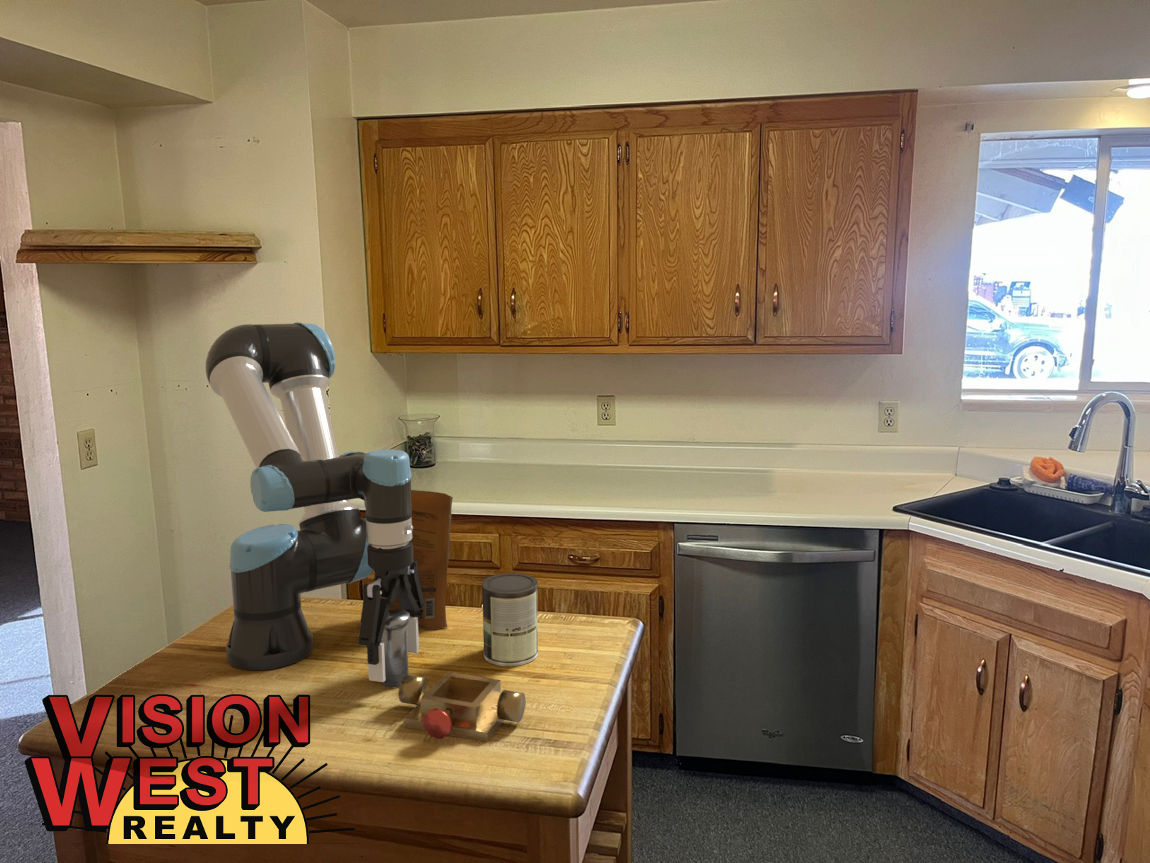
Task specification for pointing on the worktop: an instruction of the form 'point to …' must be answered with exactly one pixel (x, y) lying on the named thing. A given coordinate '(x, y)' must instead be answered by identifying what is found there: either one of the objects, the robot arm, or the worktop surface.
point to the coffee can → (510, 619)
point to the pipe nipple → (395, 647)
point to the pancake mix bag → (430, 554)
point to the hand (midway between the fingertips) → (394, 665)
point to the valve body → (460, 706)
